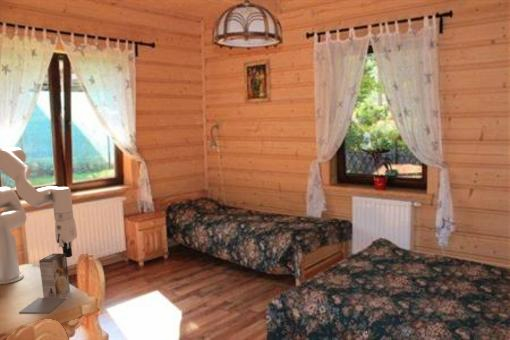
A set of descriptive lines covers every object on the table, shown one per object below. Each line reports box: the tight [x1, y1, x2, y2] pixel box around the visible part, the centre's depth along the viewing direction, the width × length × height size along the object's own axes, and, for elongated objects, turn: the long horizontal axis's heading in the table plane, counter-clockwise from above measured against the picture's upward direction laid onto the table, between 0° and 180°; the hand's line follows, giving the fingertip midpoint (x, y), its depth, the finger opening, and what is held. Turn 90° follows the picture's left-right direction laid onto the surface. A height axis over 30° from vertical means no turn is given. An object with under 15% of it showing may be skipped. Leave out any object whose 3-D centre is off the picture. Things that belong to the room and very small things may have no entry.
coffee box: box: [38, 253, 71, 298], centre depth 186 cm, size 9×6×16 cm
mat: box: [18, 297, 68, 315], centre depth 176 cm, size 12×13×1 cm
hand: (67, 256), depth 197 cm, fingers closed
